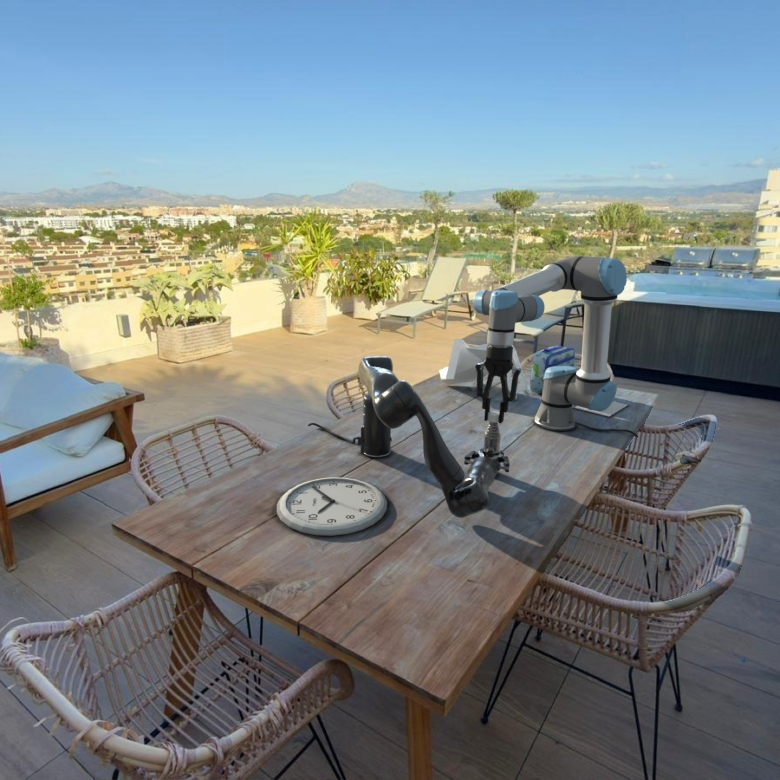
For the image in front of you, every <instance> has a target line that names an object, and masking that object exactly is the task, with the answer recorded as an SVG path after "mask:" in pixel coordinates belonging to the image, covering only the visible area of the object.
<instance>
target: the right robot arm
mask: <svg viewBox="0 0 780 780" xmlns="http://www.w3.org/2000/svg"><path fill="white" fill-rule="evenodd" d="M627 275H628V274H627V268H626V266H625V264H624V263H623V261H621V260H620V259H617V258H611V257H608V256H583V255H575V256H571V257H570V256H569V257H566V258H563V259H560V260H557V261H555V262H551V263H550V264H546V265H545V266H544V267H543V269H541V270H540V271H537V272H534V273H532V274H530V275H527V276H525V277H522V278H520V279H518V280H515V281H513V282H511V283H508V284H505V285H503V286H500V287H497V288H495V289H493V290H488V289H480V290H478V291H477V292H476V293H475V294H474V296H473V298H472V307H473V310H474V311H475V312H476V313H477V314H481V315H484V316H488V326H487V328H488V329H487V336H486V337H487V338H486V344H487V343H488V345H487V350H486V360H485V361H484V363H478V364H477V365H476V366H475V368H476V371H477V383H476V396H477V397H479V398H481V400H482V402H481V403H482V405H481V409H482V410H484V417H483V420H484V422H487V421H488V419H487V418H488V412H491V400H492V398H491V397H490V392H491V389H492V385H493V381H494V378H495V377H499V380H500V385H501V386H500V387H501V395H502V400H501V401H500V402H499V403H500V404H499V413H500V414H499V422H498V424H502V423H503V422H504V419H505V414H506V413H507V412H508V410H509V403H510V402H511V403H512V402H514V401H515V400H516V399H515V397H516V395H517V390H518V383H519V374H520V373H521V371H523V369H522V370H521V368H522V367H521V368H516V366H515V365H514V362H513V359H512V355H513V347H512V346H511V345H513V346H514V342H515V333H516V332H515V331H516V324H518V323H524V322H525V323H526V322H533V321H537V320H539V319H541V318H542V316H543V315H544V313H545V302H544V300H543V298H542V297H540V296H542V295H545V294H546V293H549V292H553V293H555V292H559V291H562V290H566V291H567V290H568V291H569V290H570V291H577V292H578V291H579V292H580V300H581V301H582V302H583V303H584V312H583V314H584V315H583V327H582V328H583V329H582V344H581V345H582V346H581V361H580V368H579V369H578V368H577V367H576V366H574V367H572V366H554V367H550V368H547V369H546V371H545V374H544V378H543V379H544V382H543V391H542V393H541V402H540V405H539V407H538V410H537V411H536V413H535V416H534V424H535V425H536V426H537V427H539V428H542V429H544V430H549V431H556V432H567V431H572V430H574V429H575V428H576V425H577V426H581V427H583V428H586V429H589V430H592V431H597V432H624V433H629V434H632V435H633V436H634V437H635V438H639V436H638V434H637V433H635V432H634V431H632V430H629V429H622V428H605V429H604V428H597V427H592V426H589V425H586V424H584V423H581V422H577V421H576V418H575V417H576V416H575V413H574V407H573V405H574V406H580V407H583V408H587V409H589V410H594V411H599V412H600V411H604V410H606V409H607V408H608V407H609V406H610V404H611V403H612V401H614V400H615V398H616V394H617V389H618V387H617V384H616V382H614V381H613V380H611V375H612V374H611V372H610V371H609V370H608V369H607V368H608V358H609V346H610V345H609V343H610V333H611V321H612V309H613V303H614V302H616V301H617V300H618V296H619V295H621V294H623V292H624V290H625V287H626V285H627V281H628V276H627ZM484 366H485V367H486V369H487V371H488V372H489V374H487V379H486V383H485V386H484V377H483V370H484ZM509 371H510V372H511V374H512V377H511V378H512V384H511V391H510V390H509V387H508V383H507V373H508V372H509Z"/></svg>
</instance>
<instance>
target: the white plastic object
mask: <svg viewBox="0 0 780 780" xmlns="http://www.w3.org/2000/svg"><path fill="white" fill-rule="evenodd" d="M487 345H488V343H487V342H486V343H483V344H479V345H473V346H469V345H468V343H466V342H465V340H464V339H463V338H460V339H458V338H454V340H453V344H452V349H451V353H450V357H449V362H448V366H446V367H444V368H442V369H440V370H439V371H438V372H439V376H440V381H442V383H443V384H444V385H445V386H449V385H458V384H467V383H468V384H469V383H473V384H477V371H476V368H475V366H476V365H477V364H478V363H484V361H485V360H486V350H487ZM511 346H512V347H513V355H512V361H513V364H514V367H516V368H521V370H522V371H521V373H520V374H519V377H518V380H519V382H520V385H521V389H522V391H523V393H524V395H525V396H526V397H528V396H531V395H530V389H529V388H528V387H529V386H528V384H527V381H526V378H525V375H524V371H523V369H522V368H523V367H522V366H521V362H520V359H519V355H518V352H517V349H516V347H515V346H514V344H513V345H511ZM488 374H489V372H488V371H487V369H486V367H485V366H484V370H483V378H485V377H486V376H488ZM512 378H513V377H512V375H511V370H510V371H509V372H508V373H507V383H508V391H509V392H510V391H511V384H512ZM514 400H517V394H516V397H515V399H514Z"/></svg>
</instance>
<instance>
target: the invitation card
mask: <svg viewBox="0 0 780 780" xmlns="http://www.w3.org/2000/svg"><path fill="white" fill-rule="evenodd" d="M628 406H629V404H627V403H623V402H618V401H614V400H613V401H612V403H611V404H610V406H609V407H608V408H607V409H606V410H604V411H600V412H599V411H594V410H589V409H587V408H583V407H580V406H577V405H575V406H574V407H573V409H575V410H581V411H584V412H587V413H593V414H596V415H600V416H604V417H608V418H609V417H611V416H613V415H614V414H616V413H617V412H619V411H621V410H623V409H624V408H626V407H628Z"/></svg>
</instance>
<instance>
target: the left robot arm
mask: <svg viewBox="0 0 780 780" xmlns="http://www.w3.org/2000/svg"><path fill="white" fill-rule="evenodd" d="M357 369H358V370H357V371H358V376H359V380H360V382H361V384H362V385H363V386H364V387H365V388H366V394H364V395H363V397H362V412H363V413H362V414H363V416H362V425H361V427H360V434H359V435H358V436H355V437H353V438H352V440H350V439H347V438H345V437H343V436H341V435H340V434H337V433H336V432H333V431H331V430H330V429H329V428H327V427H325V426H322V425H320V424H318V423H317V422H310V423H308V424H307V427H311V426H315V427H317V428H319V429H321V430H324V431H326V432H327V433H329V434H330V435H332V436H334V437H336V438H338V439H340V440H342V441H345V442H348V443H351V444H355V443H356V441H357V445H358V446H360V454H363V456H366V457H369V458H374V459H381V458H385V457H388V456H389V455H390V454H391V451H392V450H391V449H392V447H391V444H392V442H393V441H392V436H391V435H392V432H391V431H392V430H394V429H397V428H400V427H401V426H403V425H405V424H406V423H407V422H409V421H410V420H411V419H413V417H416V418H417V420H418V422H419V424H420V428H421V433H422V447H423V448H422V450H423V451H422V452H423V459H424V462H425V465H426V467H427V469H428V470H429V472H430V473H431V475H432V476H433V478H434V479H435V480H436V482H437V484H439V486H440V489H441V491H442V493H443V496H444V499H445V501H446V505H447V508H448V511H449V512H450V513H451V514H452V515H453V516H454V517H455V518H458V519H464V518H467V517H469V516H472V515H474V514H477V513H479V512H482V511H484V510H485V509H486V508H487V507H488V506H489V504H490V498H489V489H490V487H491V486H492V484H493V483H494V481H495V477H496V476H497V475H496V473H497V474H498V472H499V471H500V470H503V471H504V472H506V473H509V472H510V466H511V465H510V459H509V456H508V455H505V451H504V450H502V449H499V454H498V455H497V456H496V455H495V456H493V457H492V458H489V457H486V456H484V455H483V453H484V446H483V447H482V448H480V449H479V450H478V451H476V450H471V451H470V452H469V453H467V454H466V455H464V459H463V465H465V466H468V465H470V466H469V468H468V469H467V472H466V475H465V471H464V469H463V468H462V466H461V465H460V464H459V462H458V461H457V459H456V458H455V456H454V455H453V453H452V452H451V451H450V449H449V447H448V446H447V444H446V443H445V440H444V439H443V437H442V435H441V433H440V431H439V429H438V427H437V425H436V423H435V421H434V420H433V418H432V415H431V414H430V412H429V411H428V409H427V407H426V406H425V404H424V402H423V400H422V398H421V396H420V395H419V393H418V392H417V391H416V389H415V388H414V387H413V386H412V384H410V383H409V382H408V381H406V380H404V379H401V380H399V378H398V377H397V375H396V374H395V373H394V363H393V360H392V358H391V357H390V356H389V355H388V356H387V355H386V356H385V355H384V356H383V355H382V356H378V355H377V356H376V355H375V356H364V357H362V358H361V359H360V360H359V364H358V368H357ZM460 484H461V488H459V489H457V487H458V486H459V485H460Z"/></svg>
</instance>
